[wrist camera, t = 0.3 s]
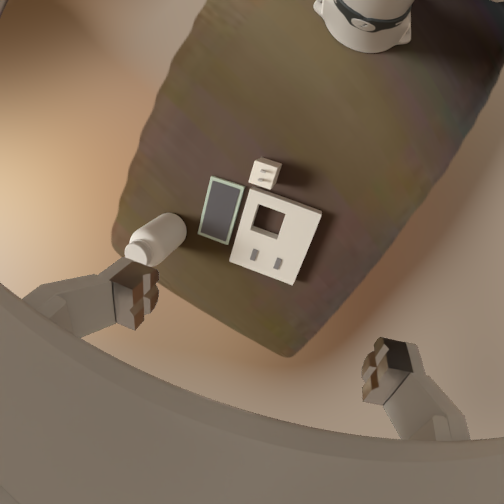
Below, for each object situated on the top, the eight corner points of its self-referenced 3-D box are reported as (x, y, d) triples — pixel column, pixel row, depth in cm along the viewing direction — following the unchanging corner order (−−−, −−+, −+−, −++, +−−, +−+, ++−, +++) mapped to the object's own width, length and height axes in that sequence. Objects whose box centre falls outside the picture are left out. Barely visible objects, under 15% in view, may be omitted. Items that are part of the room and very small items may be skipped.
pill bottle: (186, 249, 64) (152, 281, 51) (156, 239, 65) (118, 268, 52) (190, 217, 61) (153, 243, 47) (158, 208, 62) (118, 231, 48)
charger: (261, 157, 52) (253, 161, 46) (282, 163, 52) (276, 168, 45) (256, 176, 54) (246, 183, 48) (275, 183, 54) (269, 191, 47)
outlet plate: (253, 186, 55) (249, 189, 52) (321, 211, 54) (321, 215, 51) (232, 256, 62) (228, 261, 60) (294, 279, 61) (292, 285, 58)
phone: (213, 175, 56) (210, 176, 55) (245, 185, 56) (243, 187, 54) (200, 231, 62) (197, 234, 61) (229, 242, 62) (227, 245, 60)
